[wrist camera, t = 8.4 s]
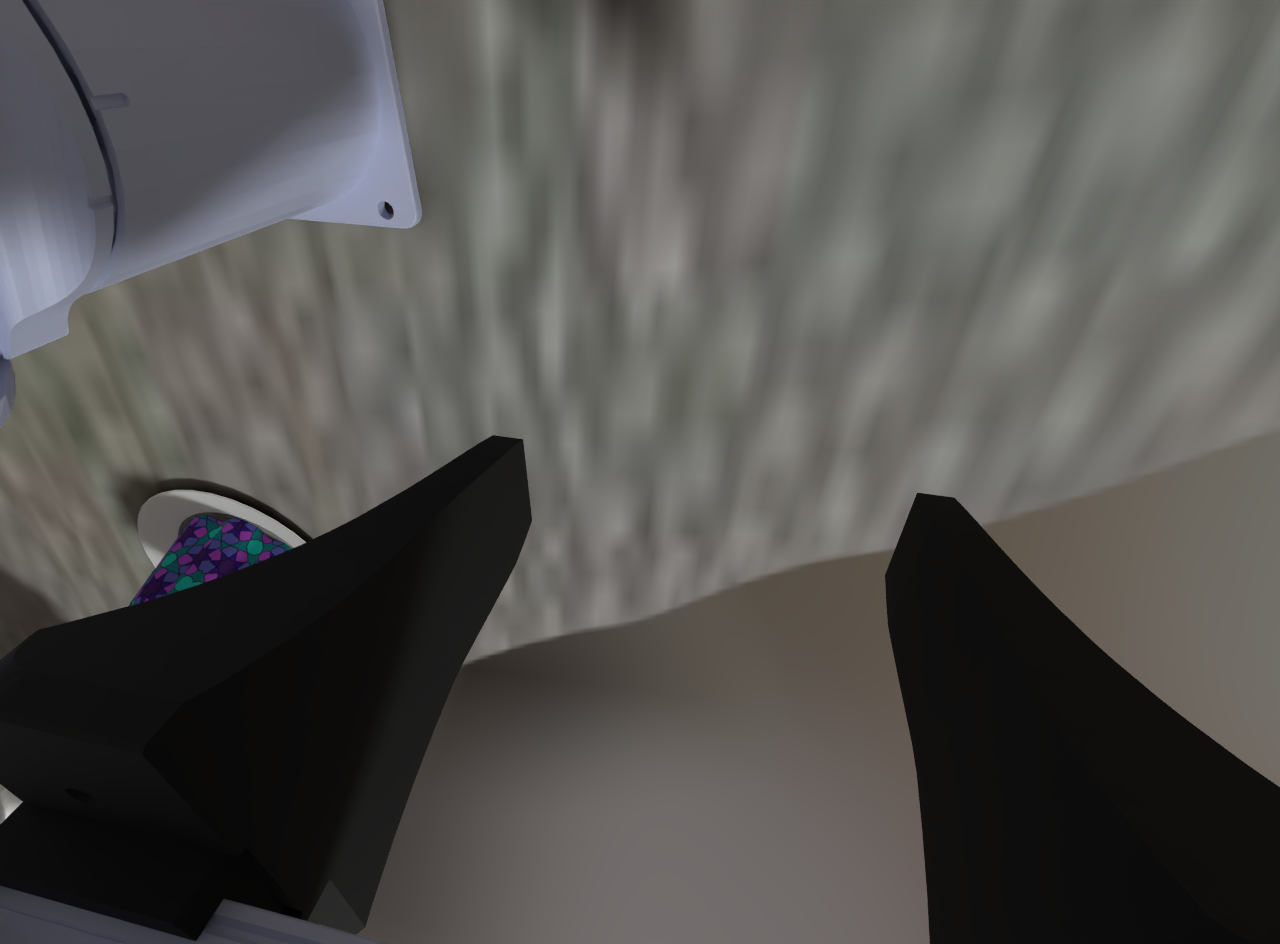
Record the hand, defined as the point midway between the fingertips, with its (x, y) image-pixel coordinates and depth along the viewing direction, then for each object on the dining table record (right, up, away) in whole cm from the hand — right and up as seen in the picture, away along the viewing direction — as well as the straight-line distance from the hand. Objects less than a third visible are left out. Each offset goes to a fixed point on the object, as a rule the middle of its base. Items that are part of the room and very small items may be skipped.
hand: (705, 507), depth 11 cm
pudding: (-22, -5, +21) cm, 31 cm away
